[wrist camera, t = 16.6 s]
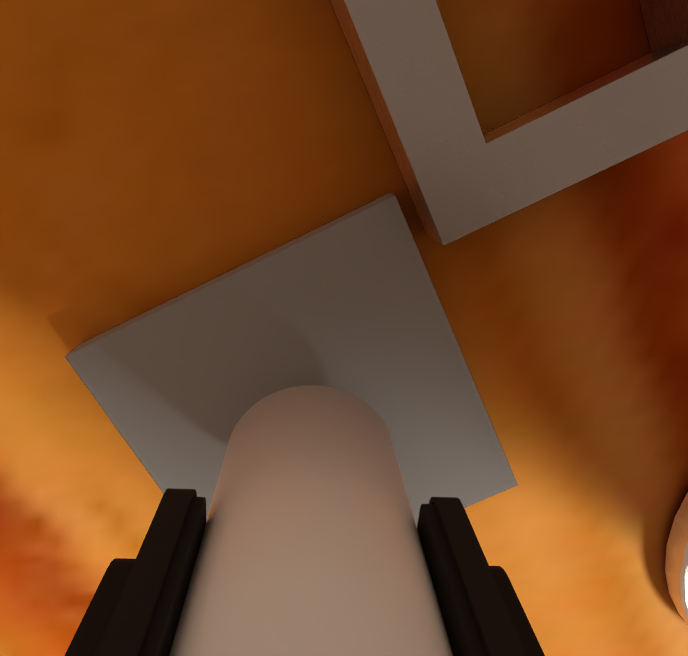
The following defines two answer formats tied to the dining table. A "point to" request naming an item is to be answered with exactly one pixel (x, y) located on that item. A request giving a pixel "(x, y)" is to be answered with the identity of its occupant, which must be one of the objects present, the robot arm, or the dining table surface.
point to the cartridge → (310, 540)
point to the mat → (302, 360)
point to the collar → (517, 135)
